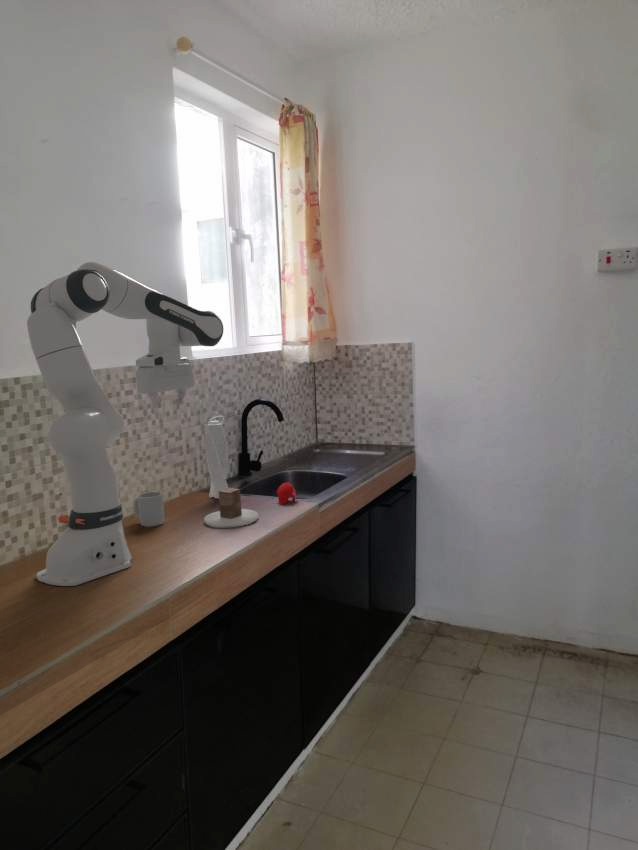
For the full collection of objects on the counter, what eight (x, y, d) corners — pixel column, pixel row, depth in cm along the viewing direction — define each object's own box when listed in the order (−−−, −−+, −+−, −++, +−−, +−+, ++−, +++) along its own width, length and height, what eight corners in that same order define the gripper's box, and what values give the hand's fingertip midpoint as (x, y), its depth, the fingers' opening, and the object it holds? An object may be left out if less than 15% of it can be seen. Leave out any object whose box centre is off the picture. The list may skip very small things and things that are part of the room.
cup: (155, 528, 184) (152, 498, 183) (127, 525, 188) (125, 496, 186) (169, 521, 190) (167, 492, 189) (142, 518, 194) (140, 490, 193)
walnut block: (231, 519, 185) (229, 492, 184) (220, 517, 188) (218, 491, 186) (241, 515, 189) (240, 489, 188) (230, 513, 191) (229, 487, 190)
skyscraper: (222, 492, 223) (216, 414, 220) (236, 495, 219) (230, 415, 215) (204, 497, 218) (198, 417, 214) (218, 500, 213) (212, 418, 209)
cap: (280, 488, 212) (271, 482, 207) (296, 483, 210) (287, 477, 205) (283, 510, 208) (274, 505, 203) (299, 505, 206) (291, 499, 201)
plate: (236, 530, 177) (236, 526, 177) (193, 524, 185) (193, 520, 185) (268, 515, 191) (268, 511, 191) (227, 510, 199) (226, 506, 199)
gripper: (181, 357, 192) (184, 402, 194) (130, 361, 175) (135, 410, 177) (197, 356, 189) (200, 402, 191) (147, 360, 171) (151, 410, 173)
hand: (168, 406), depth 184 cm, fingers open, 8 cm apart
